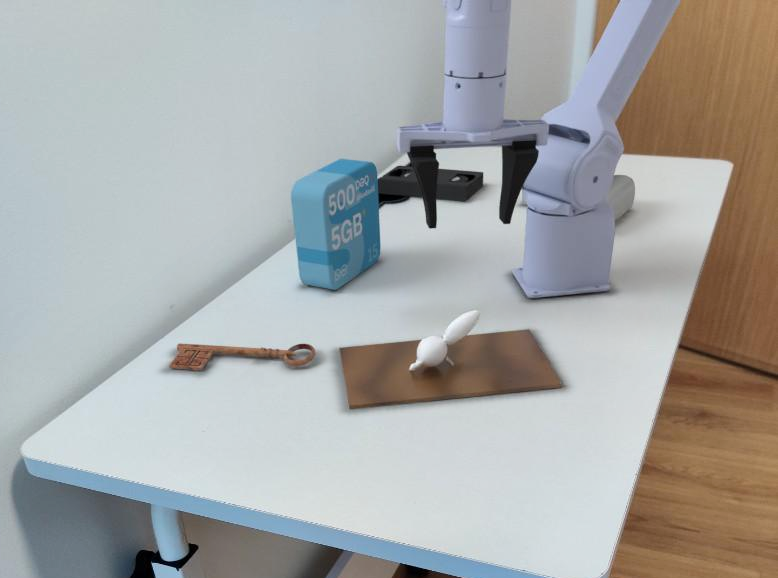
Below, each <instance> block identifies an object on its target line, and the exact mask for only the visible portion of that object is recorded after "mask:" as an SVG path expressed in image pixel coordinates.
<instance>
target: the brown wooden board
mask: <svg viewBox="0 0 778 578" xmlns="http://www.w3.org/2000/svg"><path fill="white" fill-rule="evenodd" d="M421 340H422V339H417V340H407V341H394V342H385V343H375V344H365V345H364V344H363V345H355V346H345V347H339V348H338V351H339V357H340V363H341V367H342V368H341V369H342V374H343V379H344V385H345V391H346V397H347V402H348V408H349V410H354V409H364V408H372V407H383V406H394V405H404V404H413V403H421V402H422V403H423V402H431V401H441V400H452V399H463V398H471V397H482V396H490V395H492V396H493V395H500V394H510V393H519V392H521V393H522V392H530V391H540V390H551V389H559V388H560V389H561V388H562V386H563V383H562V382H561V380H560V378H559V376H558V375H557V373H556V371H555V370H554V368H553V367H552V364H551V363H550V362H549V360H548V358H547V356H546V355H545V353H544V352H543V350H542V348H541V347H540V345H539V343H538V342H537V340H536V338H535V337H534V335H533V333H532V331H531V330H530V328H528V329H527V328H526V329H517V330H508V331H497V332H487V333H477V334H467V335H466V336H465V337H463V338H461V339H460V340H458V341H457V342H456V343H454V344H452V345H449V346H448V345H447V354H446V357H445V358H444V360H443V361H442V362H441V363H440V364H439V365H436V366H431V367H429V366H424V365H421V366H420V367H419V368H417V369H416V370H415V371H409V368H410V366H411V364H414V363H416V360H417V348H418V345H419V343H420V342H421ZM447 357H448V358H449V359H450V360H451V361H452V362H453V363H454V364H453V365H452V364H450V363H449V362H448V361H447V360H446V359H447Z"/></svg>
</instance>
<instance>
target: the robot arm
mask: <svg viewBox="0 0 778 578" xmlns="http://www.w3.org/2000/svg"><path fill="white" fill-rule="evenodd" d="M681 1H682V0H619V2H618V4H617V6H616V8H615V9H614V12H613V14H612V16H611V18H610V20H609V22H608V24H607V25H606V28H605V29H604V31H603V33H602V35H601V37H600V39H599V40H598V43H597V45H596V47H595V48H594V51H593V53H592V54H591V56H590V58H589V60H588V62H587V64H586V66H585V68H584V70H583V72H582V73H581V75H580V78H579V79H578V81H577V83H576V85H575V87H574V88H573V91H572V93H571V95H570V97H569V98H568V100H567V101H565V102H563V103H562V104H560V105H558V106H556V107H554V108H553V109H550V110H549V111H548V112H546V113H545V114H543V115H542V117H541V119H506V118H505V119H504V116H505V114H504V113H505V102H506V101H505V100H506V84H507V69H508V53H509V41H510V24H511V12H512V0H442V7H444V11H445V41H444V42H445V45H444V77H443V78H444V82H443V83H444V84H443V110H442V111H443V112H442V121H436V122H430V123H429V122H428V123H421V124H415V125H414V124H413V125H403V126H396V149H397V152H399V153H400V154H401V153H402V154H404V153H406V155H407V157H408V160H409V162H410V165H411V166H412V167H413V169H414V172H415V175H416V178H417V180H418V184H419V187H420V190H421V194H422V197H421V198H422V202H423V207H424V212H425V213H424V214H425V223H426V225H427V228H428V229H429V230H431V229H437V222H438V213H437V212H438V208H437V207H438V205H437V199H436V191H437V178H438V169H440V162H439V161H438V159H437V152H435V150H446V149H466V148H467V149H468V148H485V147H501V158H502V159H501V187H500V188H501V189H500V190H501V191H500V197H499V206H498V219H499V220H500V221H501V223H502V224H503V225H511V222H512V218H513V214H514V210H515V207H516V205H517V202H518V199H519V196H520V193H521V192H522V190H523V201H525V202H527V205H526V217H525V231H524V232H525V233H524V248H523V265H522V267H516V268H513V269H512V275H513V276H514V279H516V281H517V283H518V284H519V286H520V287H521V289H522V290H523V292H524V294H525V296H526V297H527V298H528V299H537V298H546V297H547V298H548V297H557V296H567V295H577V294H579V295H580V294H589V293H600V292H608V291H610V290H611V285H610V284H609V283H610V282H609V281H610V274H611V266H612V258H613V251H614V243H615V236H616V235H615V234H616V220H615V218H614V212H613V209H612V206H611V204H610V203H609V202H608V201H602V200H603V199H604V198H605V196H606V195H607V193H608V191H609V189H610V187H611V185H612V182H613V178H614V175H615V173H616V168H617V166H618V163H619V161H620V159H621V157H622V156H623V153H624V151H625V146H624V143H623V140H622V136H621V135H620V133H619V130H618V128H617V125H616V122H617V121H618V119H619V117H620V115H621V113H622V111H623V110H624V108H625V106H626V104H627V102H628V100H629V98H630V96H631V95H632V93H633V91H634V89H635V87H636V86H637V83H638V81H639V80H640V78H641V76H642V74H643V72H644V70H645V69H646V66H647V65H648V63H649V61H650V59H651V57H652V56H653V54H654V52H655V50H656V48H657V46H658V45H659V42H660V40H661V39H662V37H663V35H664V33H665V31H666V29H667V27H668V26H669V24H670V22H671V20H672V18H673V16H674V15H675V13H676V11H677V9H678V7H679V5H680V3H681Z"/></svg>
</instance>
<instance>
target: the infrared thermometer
mask: <svg viewBox="0 0 778 578" xmlns="http://www.w3.org/2000/svg"><path fill="white" fill-rule="evenodd" d="M635 196H636V186H635V181H634V179H633V178H632V177H630V176H628V175H625V174H614V178H613V182H612V185H611V187H610V189H609V191H608V193H607V195H606V196H605V198H604V199H603V200H602V201H608V202H609V203H610V204H611V206H612V209H613V212H614V218H615V221H616V220H618V219H620V218H621V217H622V216H624V214H626V212H627V211H629V210H630V209H631V208H632V207H633V205H634V201H635V198H636V197H635ZM521 201H522V202H521V203H522V205H523V206H527V202H525V201H523V190H521Z"/></svg>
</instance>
